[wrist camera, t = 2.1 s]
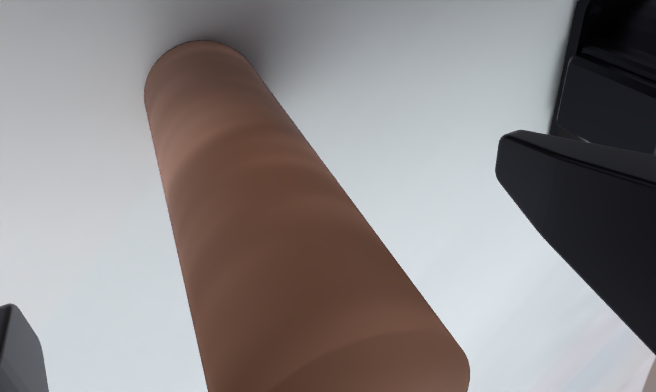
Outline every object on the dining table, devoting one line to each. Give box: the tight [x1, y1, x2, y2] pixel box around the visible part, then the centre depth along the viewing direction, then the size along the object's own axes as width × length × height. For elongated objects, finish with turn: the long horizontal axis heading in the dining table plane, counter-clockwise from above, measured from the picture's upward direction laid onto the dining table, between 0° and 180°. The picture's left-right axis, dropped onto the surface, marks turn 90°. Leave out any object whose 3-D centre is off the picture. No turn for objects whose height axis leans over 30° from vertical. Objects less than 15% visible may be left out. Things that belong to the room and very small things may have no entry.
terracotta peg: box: [144, 41, 470, 392], centre depth 10 cm, size 3×3×10 cm
